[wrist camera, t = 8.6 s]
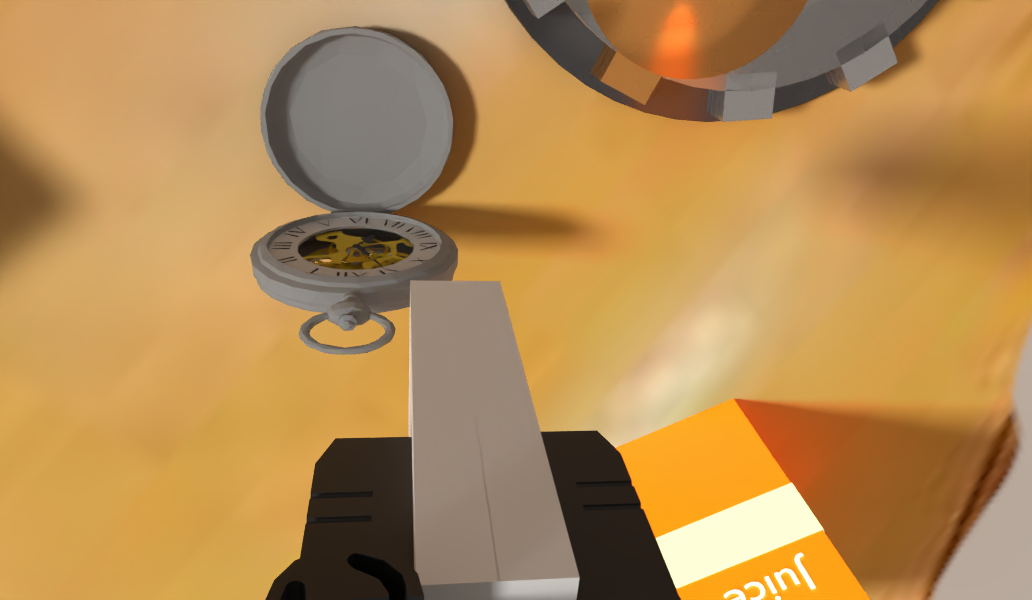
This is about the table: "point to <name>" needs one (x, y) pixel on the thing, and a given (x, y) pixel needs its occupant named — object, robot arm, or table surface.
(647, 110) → the base plate
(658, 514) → the orange juice
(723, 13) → the sprocket
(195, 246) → the table surface
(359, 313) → the pocket watch
